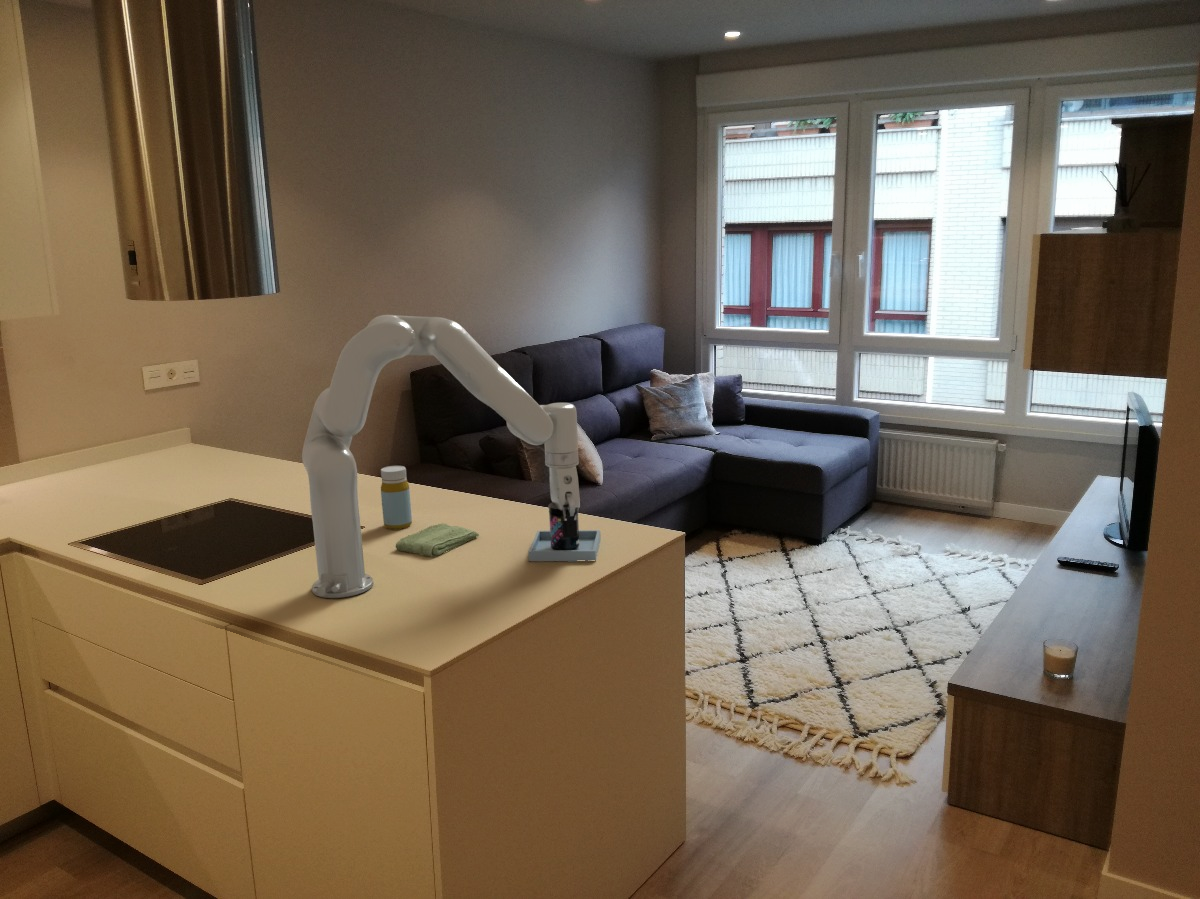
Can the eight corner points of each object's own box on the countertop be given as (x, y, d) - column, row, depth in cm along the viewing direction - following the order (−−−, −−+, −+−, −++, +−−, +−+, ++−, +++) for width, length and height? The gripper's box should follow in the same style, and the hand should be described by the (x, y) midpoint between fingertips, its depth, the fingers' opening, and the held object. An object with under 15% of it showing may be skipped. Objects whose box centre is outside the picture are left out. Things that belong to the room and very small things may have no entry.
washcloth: (482, 538, 241) (481, 525, 240) (434, 560, 226) (433, 547, 225) (440, 531, 247) (439, 519, 246) (391, 552, 233) (390, 539, 232)
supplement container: (553, 543, 232) (551, 500, 229) (581, 543, 231) (580, 500, 228) (548, 552, 225) (546, 509, 223) (577, 553, 224) (575, 509, 222)
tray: (595, 561, 220) (595, 551, 220) (529, 561, 222) (528, 551, 221) (600, 539, 235) (600, 530, 234) (538, 540, 236) (537, 530, 236)
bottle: (405, 530, 247) (401, 472, 244) (379, 529, 249) (374, 472, 245) (416, 522, 254) (411, 465, 250) (390, 521, 255) (385, 465, 252)
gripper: (587, 465, 216) (590, 540, 220) (568, 448, 232) (571, 518, 236) (554, 468, 214) (557, 544, 218) (537, 451, 230) (540, 522, 234)
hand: (564, 530), depth 227 cm, fingers open, 9 cm apart
